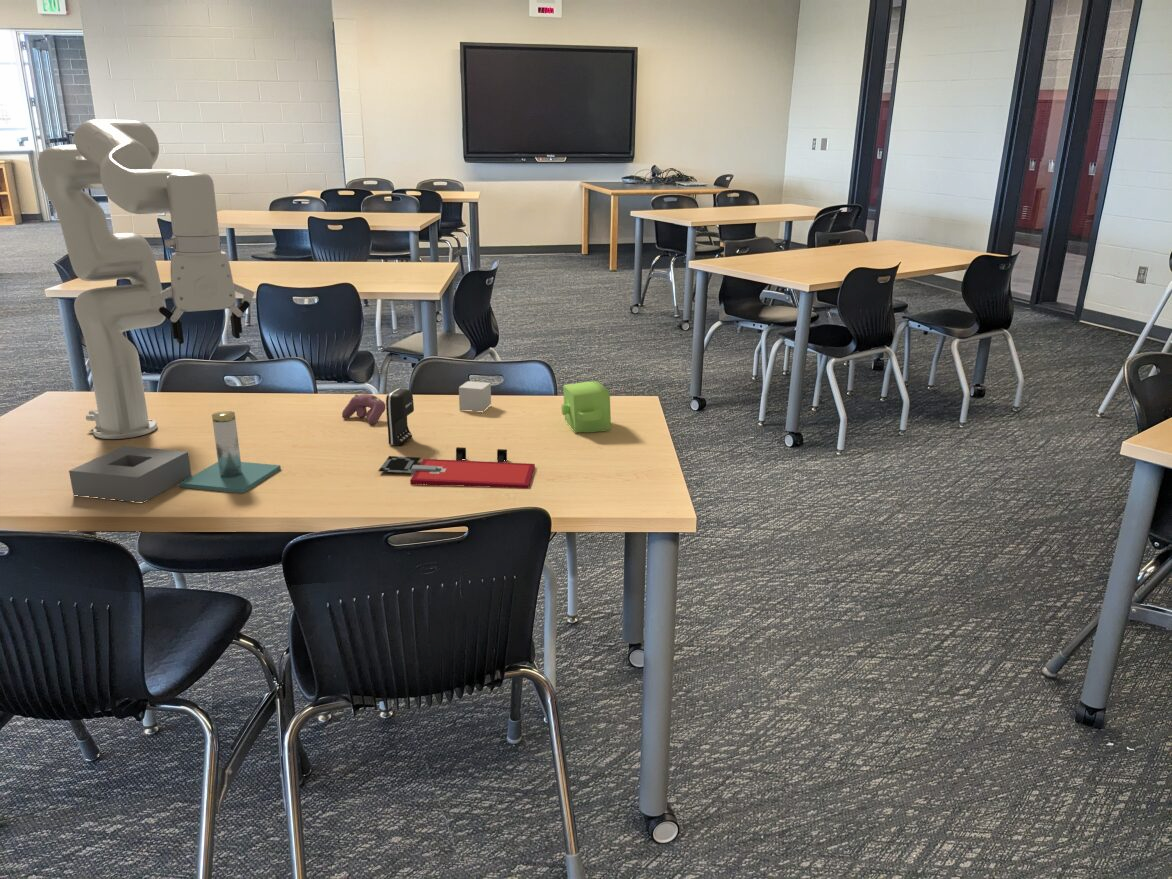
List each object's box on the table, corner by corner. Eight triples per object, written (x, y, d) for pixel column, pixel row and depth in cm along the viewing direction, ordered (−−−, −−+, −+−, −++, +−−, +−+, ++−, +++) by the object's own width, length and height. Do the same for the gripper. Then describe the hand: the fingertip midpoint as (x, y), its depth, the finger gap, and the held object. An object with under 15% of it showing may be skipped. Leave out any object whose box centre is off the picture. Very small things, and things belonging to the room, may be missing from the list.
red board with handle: (391, 457, 179) (371, 484, 165) (391, 444, 178) (370, 471, 164) (536, 463, 178) (528, 492, 164) (536, 450, 177) (528, 478, 163)
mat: (180, 487, 162) (179, 483, 162) (221, 463, 174) (221, 459, 174) (243, 493, 159) (242, 489, 159) (280, 469, 171) (280, 465, 171)
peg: (222, 479, 164) (214, 418, 160) (217, 472, 167) (209, 413, 163) (244, 475, 166) (237, 415, 162) (239, 468, 169) (232, 409, 165)
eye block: (73, 496, 157) (68, 470, 155) (127, 469, 170) (123, 445, 168) (142, 503, 154) (137, 477, 153) (191, 476, 167) (188, 451, 166)
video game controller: (383, 428, 202) (391, 399, 202) (369, 424, 198) (377, 395, 198) (352, 421, 207) (360, 393, 207) (338, 417, 203) (346, 388, 203)
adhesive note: (468, 404, 216) (467, 381, 215) (491, 406, 215) (490, 382, 213) (459, 411, 211) (458, 387, 209) (482, 413, 210) (482, 389, 208)
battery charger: (404, 447, 185) (401, 395, 181) (387, 446, 185) (384, 394, 182) (417, 437, 191) (414, 387, 187) (401, 436, 192) (398, 386, 188)
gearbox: (553, 417, 208) (551, 379, 205) (593, 413, 211) (592, 375, 208) (571, 439, 192) (569, 398, 189) (614, 434, 194) (613, 393, 191)
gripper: (146, 249, 147) (160, 348, 152) (253, 245, 156) (262, 339, 161) (140, 244, 153) (154, 340, 158) (243, 240, 162) (252, 331, 167)
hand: (208, 339), depth 160 cm, fingers open, 9 cm apart
